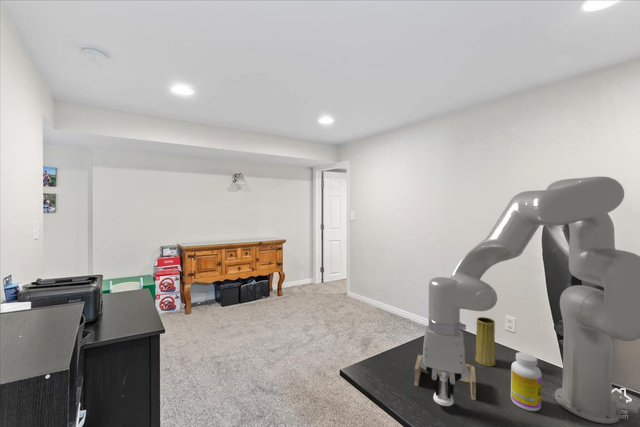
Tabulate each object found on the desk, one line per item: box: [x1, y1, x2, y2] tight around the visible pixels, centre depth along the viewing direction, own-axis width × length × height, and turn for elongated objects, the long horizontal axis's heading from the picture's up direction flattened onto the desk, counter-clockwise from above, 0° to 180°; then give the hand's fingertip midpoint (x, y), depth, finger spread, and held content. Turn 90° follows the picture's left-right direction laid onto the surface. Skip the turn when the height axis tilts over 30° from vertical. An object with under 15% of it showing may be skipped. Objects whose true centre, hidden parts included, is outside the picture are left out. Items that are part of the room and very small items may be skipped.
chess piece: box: [433, 370, 454, 407], centre depth 78 cm, size 5×5×10 cm
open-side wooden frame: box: [414, 353, 477, 401], centre depth 87 cm, size 16×9×5 cm, turn 65°
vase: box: [474, 316, 497, 367], centre depth 99 cm, size 6×6×14 cm
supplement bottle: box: [510, 351, 543, 412], centre depth 78 cm, size 7×7×13 cm
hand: (443, 393), depth 78 cm, fingers closed on chess piece
